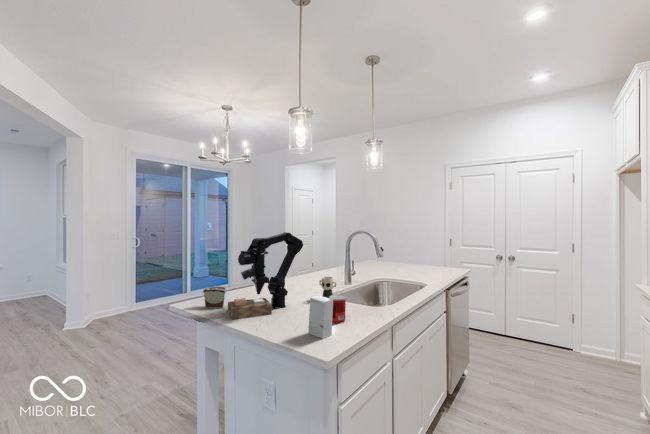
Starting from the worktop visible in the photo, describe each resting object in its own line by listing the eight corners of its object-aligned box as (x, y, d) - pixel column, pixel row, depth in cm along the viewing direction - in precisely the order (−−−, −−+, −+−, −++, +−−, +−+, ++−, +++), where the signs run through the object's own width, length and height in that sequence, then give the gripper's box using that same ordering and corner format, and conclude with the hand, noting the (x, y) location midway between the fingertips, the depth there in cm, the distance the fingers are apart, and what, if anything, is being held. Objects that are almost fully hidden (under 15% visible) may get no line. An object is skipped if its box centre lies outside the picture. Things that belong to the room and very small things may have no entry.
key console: (264, 307, 159) (265, 297, 159) (271, 314, 147) (271, 304, 147) (227, 311, 150) (227, 301, 150) (231, 319, 139) (231, 308, 139)
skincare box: (308, 334, 122) (308, 297, 122) (317, 329, 127) (318, 294, 127) (323, 339, 117) (324, 301, 117) (333, 335, 121) (333, 298, 121)
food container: (230, 305, 162) (230, 286, 162) (225, 308, 156) (225, 289, 156) (208, 304, 163) (208, 286, 164) (202, 307, 157) (202, 288, 157)
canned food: (347, 318, 141) (347, 295, 141) (342, 324, 133) (342, 299, 134) (331, 317, 143) (331, 294, 144) (326, 322, 136) (326, 298, 136)
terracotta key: (244, 305, 150) (244, 297, 150) (246, 307, 145) (246, 300, 146) (234, 306, 148) (234, 299, 148) (235, 309, 143) (235, 301, 143)
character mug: (316, 300, 173) (316, 277, 174) (322, 297, 180) (322, 275, 180) (333, 302, 169) (333, 279, 169) (338, 299, 175) (338, 277, 175)
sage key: (262, 305, 154) (262, 298, 154) (264, 307, 149) (264, 300, 149) (252, 306, 152) (252, 299, 152) (254, 309, 147) (254, 301, 147)
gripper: (239, 261, 156) (238, 291, 155) (246, 266, 139) (245, 300, 139) (260, 260, 160) (259, 289, 160) (269, 265, 144) (269, 298, 143)
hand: (258, 294), depth 151 cm, fingers closed
